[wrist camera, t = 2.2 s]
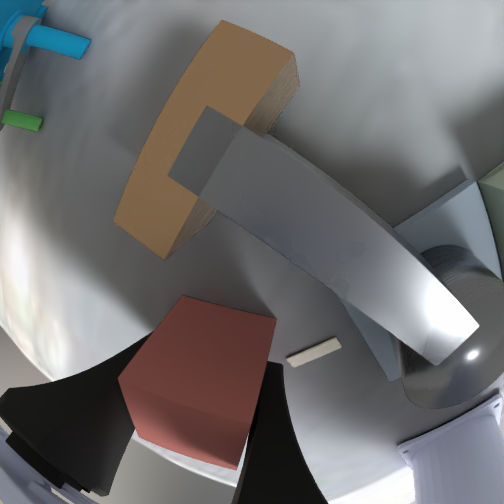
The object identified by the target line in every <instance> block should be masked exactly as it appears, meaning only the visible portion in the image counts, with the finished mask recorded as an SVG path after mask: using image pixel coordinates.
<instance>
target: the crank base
mask: <svg viewBox="0 0 504 504" xmlns="http://www.w3.org/2000/svg"><path fill="white" fill-rule="evenodd" d="M393 229H394V230H396V231H397V232H398V233H399V234H400V235H401V236H402V237H403V238H404V239H405V240H406V241H407V242H409V243H410V244H411V245H412V246H413V247H414V248H415V249H416V250H417V251H418V252H419V253H422V252H424V251H426V250H427V249H430V248H433V247H435V246H440V245H457V246H460V247H463V248H465V249H467V250H468V251H469V252H471V253H472V254H473V255H474V256H476V257H477V258H478V259H479V260H480V261H481V262H482V263H483V264H485V265H486V266H487V267H488V268H489V269H490V270H491V271H492V272H493V273H494V274H495V275H496V276H498V277H499V278H500V279H501V280H502V277H501V271H500V265H499V260H498V255H497V250H496V246H495V242H494V238H493V234H492V230H491V226H490V222H489V219H488V216H487V212H486V209H485V206H484V203H483V200H482V197H481V194H480V191H479V188H478V185H477V183H476V181H473V180H470V179H467V180H465V181H464V182H462V183H461V184H459V185H458V186H457V187H455V188H454V189H452V190H451V191H449V192H448V193H446V194H445V195H443V196H442V197H440V198H439V199H438V200H436V201H435V202H433V203H432V204H430V205H428V206H427V207H425V208H424V209H422V210H421V211H419V212H418V213H416V214H415V215H413V216H412V217H410V218H408V219H407V220H405V221H404V222H402V223H401V224H399V225H397V226H396V227H394V228H393ZM336 295H337V296H338V298H339V299H340V301H341V302H342V304H343V306H344V307H345V309H346V310H347V312H348V314H349V315H350V317H351V318H352V320H353V322H354V323H355V325H356V326H357V328H358V330H359V331H360V333H361V334H362V336H363V338H364V339H365V341H366V343H367V344H368V346H369V348H370V349H371V351H372V353H373V354H374V356H375V358H376V359H377V361H378V363H379V365H380V366H381V368H382V370H383V371H384V373H385V375H386V377H387V378H388V380H389V382H392V381H395V380H397V379H399V378H401V374H400V371H399V367H398V363H397V360H396V356H395V353H394V349H393V346H392V342H391V339H390V336H389V333H388V330H386V329H385V328H384V327H382V326H381V325H380V324H378V323H377V322H375V321H374V320H373V319H371V318H370V317H369V316H367V315H366V314H364V313H363V312H362V311H360V310H359V309H358V308H356V307H355V306H353V305H352V304H351V303H349V302H348V301H346V300H345V299H344V298H342V297H341V296H340V295H338V294H337V293H336ZM340 348H342V345H341V344H340V342H339V341H338V339H337V338H336V337H334V338H332V339H330V340H327V341H325V342H323V343H321V344H319V345H316V346H314V347H312V348H309V349H307V350H305V351H302V352H300V353H298V354H295V355H293V356H290V357H288V358H286V360H287V361H288V362H289V363H290V364H291V366H292V367H293V368H294V367H297V366H299V365H302V364H305V363H307V362H309V361H312V360H314V359H317V358H319V357H322V356H324V355H326V354H329V353H331V352H333V351H335V350H338V349H340Z"/></svg>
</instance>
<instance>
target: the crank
mask: <svg viewBox="0 0 504 504" xmlns="http://www.w3.org/2000/svg"><path fill="white" fill-rule="evenodd" d="M299 87H300V82H299V76H298V70H297V65H296V60H295V55H294V53H293V52H292V51H290V50H288V49H286V48H284V47H282V46H280V45H278V44H276V43H274V42H272V41H270V40H268V39H266V38H264V37H262V36H260V35H257V34H255V33H253V32H251V31H248V30H246V29H244V28H241V27H239V26H236V25H234V24H231V23H229V22H226V21H224V20H221V21H220V22H219V24H218V25H217V26H216V28H215V29H214V30H213V32H212V33H211V34H210V36H209V37H208V38H207V40H206V41H205V43H204V44H203V45H202V47H201V48H200V50H199V51H198V53H197V54H196V56H195V57H194V58H193V60H192V61H191V63H190V65H189V66H188V68H187V69H186V71H185V72H184V74H183V76H182V77H181V79H180V80H179V82H178V84H177V85H176V87H175V89H174V90H173V92H172V94H171V95H170V97H169V99H168V101H167V102H166V104H165V106H164V108H163V110H162V111H161V113H160V115H159V117H158V119H157V121H156V123H155V125H154V127H153V128H152V130H151V132H150V134H149V136H148V138H147V140H146V143H145V145H144V147H143V149H142V151H141V153H140V155H139V157H138V160H137V162H136V164H135V166H134V168H133V171H132V173H131V175H130V178H129V180H128V183H127V185H126V187H125V190H124V192H123V195H122V197H121V200H120V203H119V205H118V208H117V211H116V213H115V216H114V219H113V222H115V223H116V224H117V225H118V226H120V227H121V228H122V229H123V230H125V231H126V232H127V233H129V234H130V235H131V236H132V237H134V238H135V239H136V240H138V241H139V242H140V243H142V244H143V245H144V246H146V247H147V248H148V249H150V250H151V251H152V252H154V253H155V254H156V255H158V256H159V257H160V258H162V259H163V260H165V259H167V258H168V257H169V256H170V255H171V254H172V253H174V252H175V251H176V250H177V249H178V248H180V247H181V246H182V245H183V244H184V243H185V242H187V241H188V240H189V239H190V238H191V237H193V236H194V235H195V234H196V233H197V232H199V231H200V230H201V229H202V228H203V227H205V226H206V225H207V224H208V223H209V222H210V221H211V219H212V218H213V216H214V214H215V213H216V211H217V210H218V211H220V212H221V213H223V214H224V215H226V216H227V217H229V218H230V219H232V220H233V221H234V222H236V223H237V224H239V225H240V226H242V227H243V228H245V229H246V230H247V231H249V232H250V233H252V234H253V235H255V236H256V237H258V238H259V239H260V240H262V241H263V242H265V243H266V244H268V245H269V246H270V247H272V248H273V249H275V250H276V251H278V252H279V253H280V254H282V255H283V256H285V257H286V258H287V259H289V260H290V261H292V262H293V263H295V264H296V265H297V266H299V267H300V268H302V269H303V270H304V271H306V272H307V273H309V274H310V275H312V276H313V277H314V278H316V279H317V280H319V281H320V282H321V283H323V284H324V285H326V286H327V287H328V288H330V289H331V290H333V291H334V292H335V293H337V294H338V295H340V296H341V297H342V298H344V299H345V300H346V301H348V302H349V303H351V304H352V305H353V306H355V307H356V308H358V309H359V310H360V311H362V312H363V313H364V314H366V315H367V316H369V317H370V318H371V319H373V320H374V321H375V322H377V323H378V324H380V325H381V326H382V327H384V328H385V329H386V330H388V333H389V336H390V339H391V342H392V346H393V349H394V353H395V356H396V360H397V363H398V367H399V371H400V374H401V378H402V382H403V386H404V390H405V394H406V396H407V398H408V399H409V400H410V401H411V402H412V403H413V404H415V405H417V406H419V407H422V408H427V409H439V408H446V407H450V406H453V405H456V404H459V403H462V402H464V401H466V400H468V399H470V398H472V397H474V396H475V395H477V394H479V393H480V392H482V391H483V390H484V389H486V388H487V387H488V386H489V385H491V384H492V383H493V382H494V381H495V380H496V379H497V378H498V377H499V376H500V375H501V374H502V373H503V372H504V282H503V281H502V280H501V279H500V278H499V277H498V276H496V275H495V274H494V273H493V272H492V271H491V270H490V269H489V268H488V267H487V266H486V265H485V264H483V263H482V262H481V261H480V260H479V259H478V258H477V257H476V256H474V255H473V254H472V253H471V252H469V251H468V250H467V249H465V248H463V247H460V246H457V245H440V246H435V247H433V248H430V249H427V250H426V251H424V252H422V253H419V252H418V251H417V250H416V249H415V248H414V247H413V246H412V245H411V244H410V243H409V242H407V241H406V240H405V239H404V238H403V237H402V236H401V235H400V234H399V233H398V232H397V231H396V230H394V229H393V228H392V227H391V226H390V225H389V224H388V223H387V222H385V221H384V220H383V219H382V218H381V217H380V216H378V215H377V214H376V213H375V212H374V211H373V210H371V209H370V208H369V207H368V206H367V205H365V204H364V203H363V202H362V201H361V200H359V199H358V198H357V197H356V196H354V195H353V194H352V193H351V192H349V191H348V190H347V189H346V188H344V187H343V186H342V185H341V184H339V183H338V182H337V181H335V180H334V179H333V178H331V177H330V176H329V175H327V174H326V173H325V172H323V171H322V170H321V169H319V168H318V167H317V166H315V165H314V164H312V163H311V162H310V161H308V160H307V159H305V158H304V157H303V156H301V155H300V154H298V153H297V152H295V151H294V150H292V149H291V148H290V147H288V146H287V145H285V144H284V143H282V142H281V141H279V140H278V139H276V138H274V137H273V136H271V135H270V134H268V133H267V132H268V131H269V129H270V128H271V127H272V125H273V124H274V122H275V121H276V119H277V118H278V116H279V115H280V114H281V112H282V111H283V109H284V108H285V107H286V105H287V104H288V102H289V101H290V100H291V98H292V97H293V95H294V94H295V93H296V91H297V90H298V89H299Z"/></svg>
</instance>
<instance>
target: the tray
mask: <svg viewBox="0 0 504 504" xmlns="http://www.w3.org/2000/svg"><path fill="white" fill-rule="evenodd" d="M478 184H479V187H480V189H481V192H482V195H483V198H484V201H485V204H486V207H487V211H488V214H489V217H490V221H491V224H492V228H493V232H494V236H495V240H496V244H497V249H498V253H499V258H500V263H501V269H502V275H503V281H504V162H502V163H501V164H500V165H498V166H497V167H496V168H495V169H493V170H492V171H491V172H489V173H488V174H487V175H485V176H484V177H482V178H481V179H480V180H478Z"/></svg>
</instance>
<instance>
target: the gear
mask: <svg viewBox="0 0 504 504" xmlns="http://www.w3.org/2000/svg"><path fill="white" fill-rule="evenodd" d="M44 1H45V0H0V131H1V129H2V128H3V126H4V124H9V125H13V126H17V127H21V128H25V129H28V130H32V131H36V132H38V131H39V128H40V125H41V122H42V120H43V118H40V117H36V116H32V115H28V114H25V113H21V112H17V111H13V110H10V108H11V104H12V100H13V96H14V93H15V90H16V86H17V83H18V80H19V77H20V74H21V71H22V68H23V66H24V63H25V60H26V58H27V55H28V53H29V50H30V48H31V46H34V47H38V48H42V49H45V50H49V51H53V52H56V53H60V54H63V55H66V56H70V57H73V58H76V59H79V60H80V59H81V58H82V56H83V55H84V53H85V51H86V49H87V48H88V46H89V44H90V42H91V40H90V39H87V38H84V37H81V36H78V35H74V34H71V33H68V32H64V31H61V30H57V29H54V28H50V27H46V26H42V25H41V21H42V19H43V17H44V15H45V13H46V11H47V8H48V6H44V5H41V4H42V3H43V2H44ZM7 63H8V65H7ZM6 65H7V68H6V71H5V73H3V71H4V69H5V66H6Z"/></svg>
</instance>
